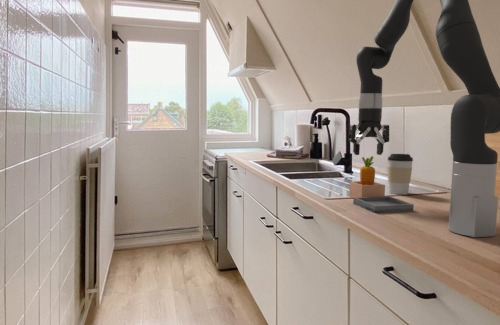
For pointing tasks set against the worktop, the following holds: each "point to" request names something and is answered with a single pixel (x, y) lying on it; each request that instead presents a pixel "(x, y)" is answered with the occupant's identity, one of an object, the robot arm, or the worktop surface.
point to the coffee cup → (399, 173)
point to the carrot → (367, 172)
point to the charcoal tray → (382, 204)
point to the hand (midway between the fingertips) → (368, 154)
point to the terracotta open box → (366, 190)
